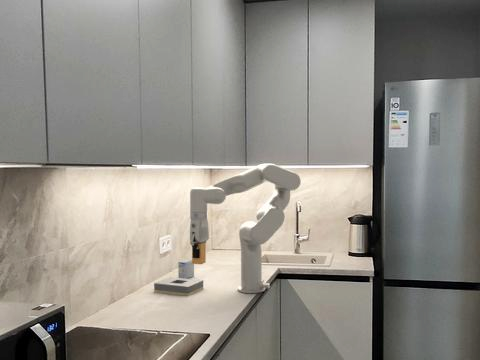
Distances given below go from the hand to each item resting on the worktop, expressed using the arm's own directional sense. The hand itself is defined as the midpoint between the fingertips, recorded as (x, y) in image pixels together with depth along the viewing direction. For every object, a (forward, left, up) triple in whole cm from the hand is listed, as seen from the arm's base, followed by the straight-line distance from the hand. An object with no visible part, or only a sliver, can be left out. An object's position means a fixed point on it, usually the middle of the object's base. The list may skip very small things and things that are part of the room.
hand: (198, 256), depth 214 cm
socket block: (+14, -5, -17) cm, 23 cm away
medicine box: (+25, -30, -18) cm, 43 cm away
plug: (0, 0, -3) cm, 3 cm away
